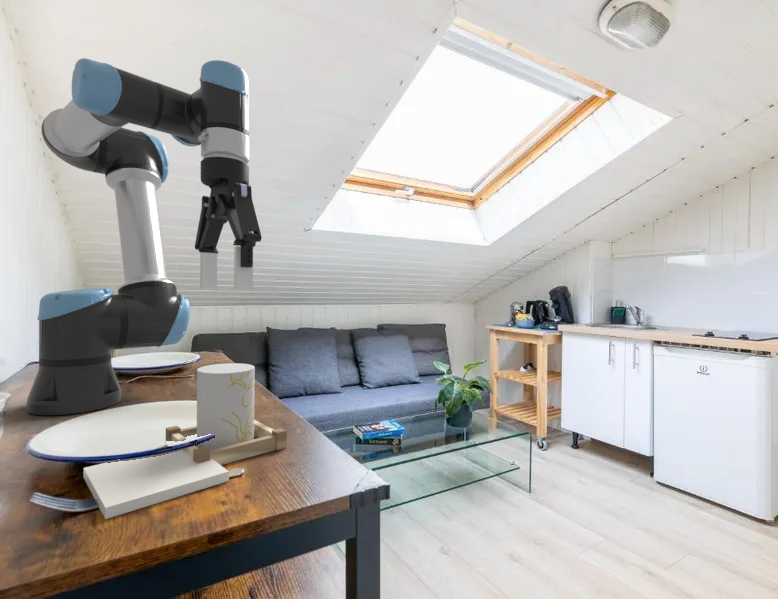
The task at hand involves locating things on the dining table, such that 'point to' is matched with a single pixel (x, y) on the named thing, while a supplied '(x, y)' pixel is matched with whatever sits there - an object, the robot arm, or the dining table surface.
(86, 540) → the dining table surface
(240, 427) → the cup
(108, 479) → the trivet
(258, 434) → the square wooden frame
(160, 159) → the robot arm
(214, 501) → the dining table surface
